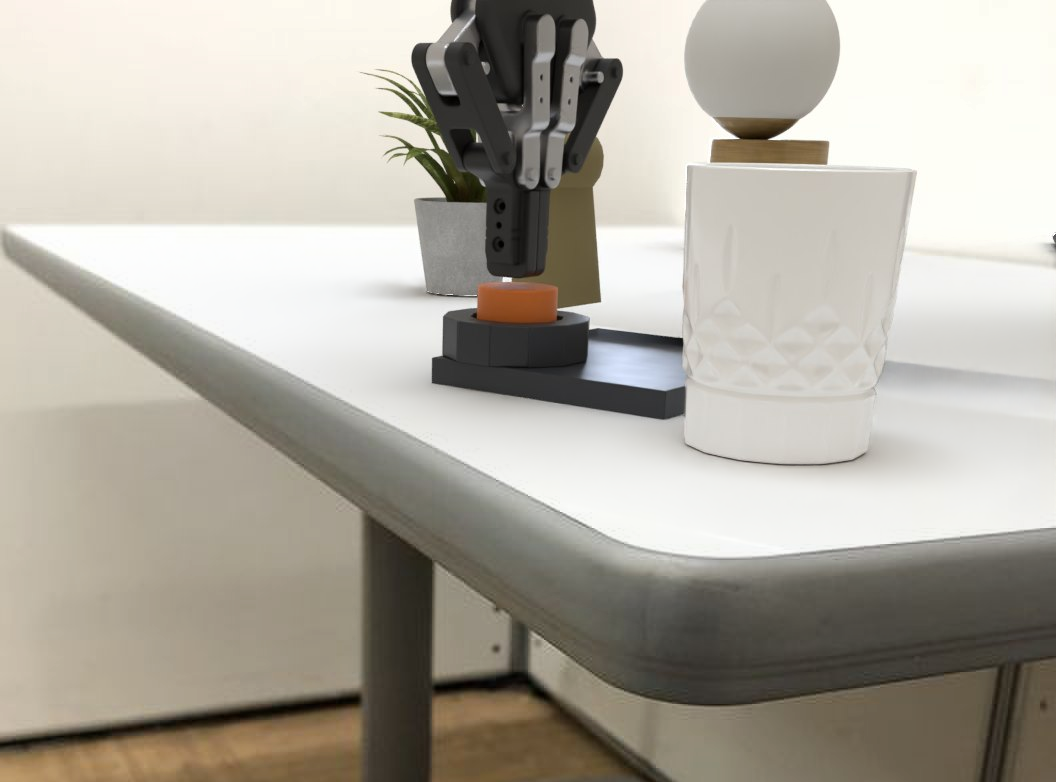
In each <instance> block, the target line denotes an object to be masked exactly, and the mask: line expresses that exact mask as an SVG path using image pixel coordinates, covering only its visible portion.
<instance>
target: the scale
mask: <svg viewBox="0 0 1056 782" xmlns="http://www.w3.org/2000/svg"><path fill="white" fill-rule="evenodd" d="M590 322H591V318H590V316H588V315H585V314H581V313H578V312H573V311H567V310H566V311H564V310H559V309H557V321H552V322H532V323H517V322H498V321H490V320H481V319H477V307H469V308H462V309H456V310H455V309H454V310H449V311H447V312H446V313H444V315H443V316H442V347H441V348H442V350H441V355H438V356H432V357H431V384H434V385H439V386H448V387H453V388H459V389H465V390H471V391H472V390H473V391H477V392H483V393H484V392H485V393H490V394H497V395H503V396H509V397H510V396H511V397H516V398H522V397H523V399H528V398H529V399H530V400H535V401H542V402H548V403H555V404H559V405H560V404H562V405H567V406H572V407H573V406H574V407H579V408H586V409H591V410H598V411H605V412H612V413H618V414H624V415H631V416H637V417H642V418H650V419H656V420H661V421H666V420H669V419H672V418H675V417H678V416H684V404H685V378H686V377H687V375H686V373H685V372H684V370H683V368H682V354H683V337H677V336H676V337H675V336H668V335H660V334H651V333H644V332H637V331H635V332H634V331H626V330H618V329H610V328H602V327H601V328H600V327H596V328H595V327H594V328H590Z"/></svg>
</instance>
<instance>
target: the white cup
mask: <svg viewBox="0 0 1056 782" xmlns="http://www.w3.org/2000/svg"><path fill="white" fill-rule="evenodd" d="M917 175H918V170H916V169H915V168H906V167H891V166H890V167H889V166H871V165H870V166H866V165H845V164H844V165H843V164H842V165H840V164H827V165H815V164H777V163H708V162H689V163H687V164H686V165H685V197H684V198H685V199H684V233H683V234H684V235H683V236H684V237H683V265H682V267H683V268H682V271H683V272H682V287H681V288H682V297H683V298H682V299H683V309H682V319H681V320H682V321H681V333H682V338H683V354H682V368H683V370H684V372H685V373H686V375H687V377H686V378H685V404H684V414H683V437H684V442H685V444H686V445H687V446H690V447H692V448H694V449H696V450H698V451H700V452H703V453H705V454H707V455H713V456H717V457H721V458H728V459H732V460H736V461H737V460H738V461H745V462H753V463H754V462H755V463H765V464H776V465H826V464H834V463H841V462H847V461H852V460H855V459H857V458H859V457H861V456H862V455H864V454H865V453H867V451H868V450H869V444H870V439H871V432H872V425H873V418H874V411H875V407H876V399H877V390H876V387H875V386H877V385H878V383H879V379H880V377H881V375H882V372H883V369H884V366H885V363H886V362H885V361H886V358H887V350H888V344H889V343H888V341H889V335H890V330H891V327H892V323H893V320H894V314H895V308H896V304H897V296H898V291H899V284H900V279H901V272H902V267H903V259H904V254H905V247H906V241H907V235H908V229H909V222H910V218H911V217H910V216H911V211H912V204H913V199H914V192H915V187H916V182H917V177H918V176H917Z"/></svg>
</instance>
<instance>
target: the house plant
mask: <svg viewBox="0 0 1056 782" xmlns="http://www.w3.org/2000/svg"><path fill="white" fill-rule="evenodd" d="M374 70H376V71H381V72H387V73H391V74H395V75H398V76H400V77H402V78H403V79H405V80H407V81H408V82H409V83H410V84H411V85H412V86H413V87H414V90H415V91H416V92H415V91H414V90H413V91H412V90H409V89H408V88H407V87H405V85H403V84H400V83H398V82H396V81H395V80H393V79H390V78H387V77H385V76H381V75H379V74H378V75H377V74H374V73H367V72H362V71H359V73H360V74H364V75H368V76H372V77H376V78H379V79H381V80H384V81H387V82H388V83H390V84H392V85H393V86H394V87H396V88H398V90H400V91H401V92H400V91H398V90H396V89H394V88H393V89H392V88H388V87H375V89H378V90H382V91H383V90H384V91H388V92H391V93H393V94H394V95H396V96H398V98H400V99H401V100H402V102H404V103H405V104H406V105H407V106H408V107H409V109H410V110H411V111H412V112H413V113H414V114H411V113H404V112H398V111H397V112H393V111H379V113H380V114H382V115H385V116H387V117H389V118H394V119H399V120H403V121H406V122H409V123H412V124H414V125H416V126H418V127H420V128H422V129H424V131H425V132H426V134H427V136H428V138H429V139H430V142H431V145H432V146H433V148H424V147H417V146H414V145H412V144H411V143H410V142H408V141H407V140H405V139H403V138H401V137H398V136H396V135H391V134H385V135H383V138H384V137H385V138H391V139H395V140H397V141H399V142H401V144H403V145H402V146H397V147H393V148H391V149H389V150H387V151H385V153H384V154H383V155H382V157H384V156H387V154H389V153H391V152H393V151H396V150H397V151H398V150H401V149H407V150H408V152H407V153H404V152H397V153H394V154H393V155H391V156H390V158H388V161H387V162H386V164H388V163H389V162H390V161H391V160H392V159H394V158H396V157H402V156H405V159H404V163H403V166H405V164H406V163H407V162H408V161H409V160H410V159H412V158H414V159H415V160H416V161H417V162H418V163H419V164H420V165H421V166H422V167H423V169H424V170H425V171H426V172H427V173H428V175H429V176H430V177H431V178H432V180H434V182H435V183H436V185H437V186H438V187H439V188H440V190H441V191H442V193H443V195H444V197H443V196H442V197H437V196H436V197H418V198H414V199H413V204H414V208H415V209H414V211H415V218H416V224H417V231H418V240H419V245H420V246H419V247H420V254H421V262H422V267H423V274H424V275H423V276H424V282H425V290H426V292H427V291H429V292H432V293H439V294H453V295H478V285H480V284H483V283H492V282H503V280H504V277H498V276H493V275H491V274H490V273H489V271H488V269H487V259H486V254H485V239H486V237H485V236H486V229H487V227H486V206H487V191H486V187H485V186H483V185H482V184H481V183H480V181H479V178H478V177H477V176H475V175H474V174H472V173H471V172H463V171H459V170H458V169H457V168H456V167H455V164H454V162H453V160H452V157H451V155H450V153H449V150H448V148H447V146H446V143H445V141H444V139H443V137H442V134H441V132H440V130H439V127H438V125H437V123H436V120H435V118H434V116H433V113H432V111H431V109H430V106H429V104H428V102H427V99H426V97H425V95H424V92H423V91H422V89H420V87H419V86H417V84H415V83H414V81H412V80H411V79H409V78H408V77H406V76H405V75H403V74H401V73H398V72H396V71H393V70H389V69H381V68H380V69H379V68H374ZM355 72H358V71H355ZM402 92H403V93H404V94H403V93H402ZM406 95H407V96H408V97H407V96H406ZM419 97H420V99H419ZM412 101H413V102H412ZM414 103H415V104H414ZM417 106H418V107H417ZM419 109H420V110H421V111H422V113H423V114H424V115H425V116H426V117H424V116H423V114H422V113H421V111H420V110H419ZM470 131H471V133H472V136H473V138H474V141H475V142H477V133H476V132H475V131H474V130H472V129H470ZM434 134H435V135H436V136H439V137H440V139H441V142H442V143H443V145H444V147H445V149H446V150H445V149H443V148H440V146H439V143H438V141H437V140H436V138H435V136H434ZM378 136H380V137H382V135H378ZM429 151H431V152H433V153H434V154H436V156H438V158H439V160H440V162H441V164H442V165H441V164H440V163H439V162H438V160H436V159H435V158H433V156H432V155H431V154H430V153H429ZM382 157H381V158H382Z"/></svg>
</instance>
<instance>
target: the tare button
mask: <svg viewBox="0 0 1056 782" xmlns="http://www.w3.org/2000/svg"><path fill="white" fill-rule="evenodd" d="M476 297H477V298H476V300H477V301H476V308H477V319H481V320H490V321H498V322H517V323H532V322H552V321H557V310H558V309H557V301H558V288H557V287H556V286H553V285H548V284H541V283H528V282H511V281H502V282H492V283H483V284H480V285H478V296H476Z"/></svg>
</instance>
